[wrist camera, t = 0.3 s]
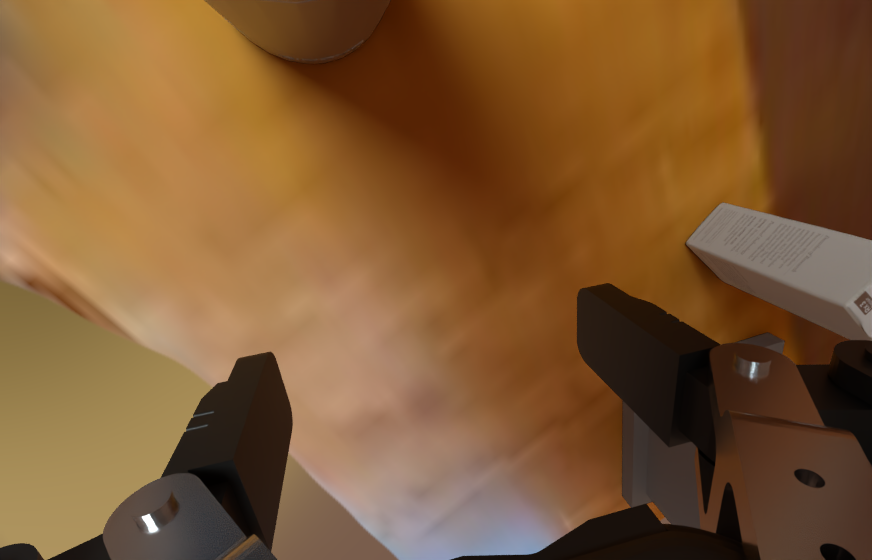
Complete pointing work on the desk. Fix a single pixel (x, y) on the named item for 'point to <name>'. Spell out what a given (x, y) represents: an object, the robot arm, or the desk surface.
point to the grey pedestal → (666, 463)
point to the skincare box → (791, 266)
